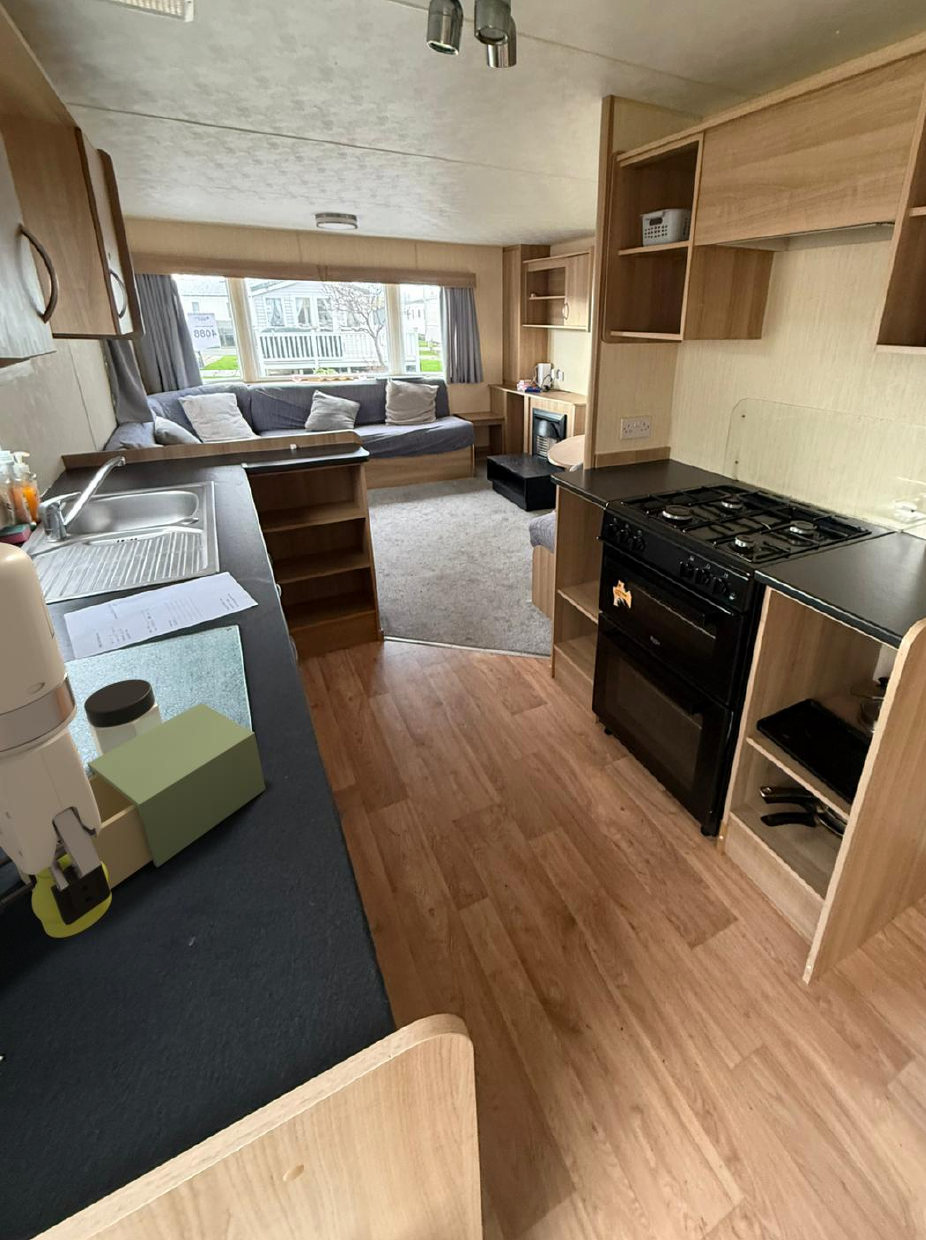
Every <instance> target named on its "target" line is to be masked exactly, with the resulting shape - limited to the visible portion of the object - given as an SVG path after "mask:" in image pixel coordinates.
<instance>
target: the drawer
mask: <svg viewBox="0 0 926 1240" xmlns="http://www.w3.org/2000/svg"><path fill="white" fill-rule="evenodd" d="M88 780H89V783H90V785H91V788H92V791H93V794H94V797H95V800H96V803H97V807H98V810H99V814H100V818H101V824H102V829H101V832H100V834H99V835H98V837H97V838H95V837H91V836H90V838H91V840H92V843H93V845H94V847H95V850H96V852H97V854H98V857H99V859H100V860H101V861H102V862H103V864H104V865H105V866H106V869H107V872H108V885H109V888H110V890H111V889H113V888H115V887H116V886H117V885H119V884H120V883H121V882H123V881H124V880H125V879H127V878H128V877H130V876H132V875H133V874H135V872H137V871H138V870H140V869H141V868H142V867H144V866H146V865H147V864H148V863H150V862H151V861H153V859H152V856H151V852H150V849H149V846H148V842H147V839H146V835H145V832H144V829H143V825H142V822H141V818H140V815H139V812H138V808H137V806H135V805H134V804H133V803H132V802H130V801H129V800H128V799H127V798H125V797H124V796H123V795H122V794H121V793H119V792H118V791H117V790H116V789H114V788H113V787H112V786H111V785H109V784H108V783H107V782H106V781H104V780H103V779H102V778H101V777H99V776H98V775H97V774H94V775H92V776H91V775H89V776H88ZM13 862H14V861H13V860H12V859H11V858H10V857H9V856H8V855H7V856H5V857H3V858H2V859H0V869H2V868H4V867H5V866H7V865H9V864H10V863H13ZM15 866H16V870H17V871H18V874H19V876H20V879H21V880H22V881H23V883H24V884H25V885H23V886H22V887H20V888H18V889H17V890H15V891H13V892H12V893H10V894H9V895H8V896H6V897H4V898H3V899H1V900H0V916H1V915H2V914H3V913H4V912H5V908H6V907H8V906H9V905H11V904H13V903H14V902H15V901H17V900H18V899H20V898H22V897H23V896H24V895H26V894H28V893H30V892H33V891H34V886H33V885H32V884H31V881H30V878H29V876H28V874H26V873H24V872H23V871H22V870H21V869H20V868H19V867H18V866H17V865H16V864H15Z"/></svg>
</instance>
